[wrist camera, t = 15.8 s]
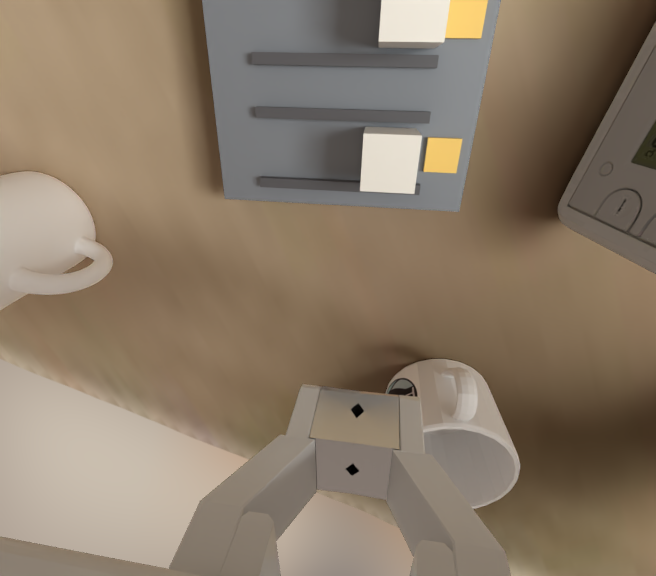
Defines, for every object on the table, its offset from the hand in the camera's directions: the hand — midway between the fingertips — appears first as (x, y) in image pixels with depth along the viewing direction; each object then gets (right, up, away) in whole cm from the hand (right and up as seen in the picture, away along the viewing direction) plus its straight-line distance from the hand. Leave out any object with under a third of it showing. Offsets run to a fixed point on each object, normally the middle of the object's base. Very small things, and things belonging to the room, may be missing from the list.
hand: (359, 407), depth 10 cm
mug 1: (-23, +9, +23) cm, 33 cm away
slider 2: (+3, +11, +13) cm, 18 cm away
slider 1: (+3, +17, +10) cm, 20 cm away
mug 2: (+10, -6, +26) cm, 29 cm away
